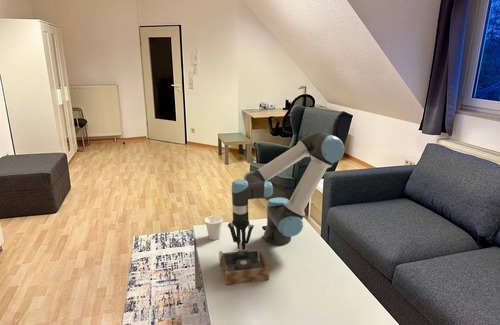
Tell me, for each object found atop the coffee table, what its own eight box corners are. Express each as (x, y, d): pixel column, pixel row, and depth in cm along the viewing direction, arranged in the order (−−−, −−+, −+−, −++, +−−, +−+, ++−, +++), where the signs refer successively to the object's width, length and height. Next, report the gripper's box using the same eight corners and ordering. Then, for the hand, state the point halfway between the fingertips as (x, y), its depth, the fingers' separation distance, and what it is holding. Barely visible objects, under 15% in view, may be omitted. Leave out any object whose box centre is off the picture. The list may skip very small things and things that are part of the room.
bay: (261, 262, 168) (261, 251, 167) (268, 279, 155) (268, 268, 153) (221, 266, 165) (221, 255, 163) (225, 285, 152) (225, 273, 150)
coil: (250, 263, 168) (250, 256, 167) (253, 273, 160) (253, 266, 159) (234, 265, 166) (233, 258, 165) (236, 275, 159) (236, 268, 158)
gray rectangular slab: (256, 260, 170) (256, 247, 168) (257, 261, 168) (257, 249, 166) (219, 264, 166) (218, 251, 164) (219, 266, 165) (219, 253, 163)
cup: (224, 233, 196) (224, 215, 193) (221, 242, 187) (221, 224, 184) (207, 232, 197) (206, 215, 194) (203, 241, 188) (202, 223, 184)
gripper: (224, 213, 163) (226, 257, 170) (251, 216, 159) (252, 261, 166) (230, 206, 170) (231, 249, 177) (255, 209, 166) (256, 252, 173)
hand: (241, 254), depth 172 cm, fingers closed
